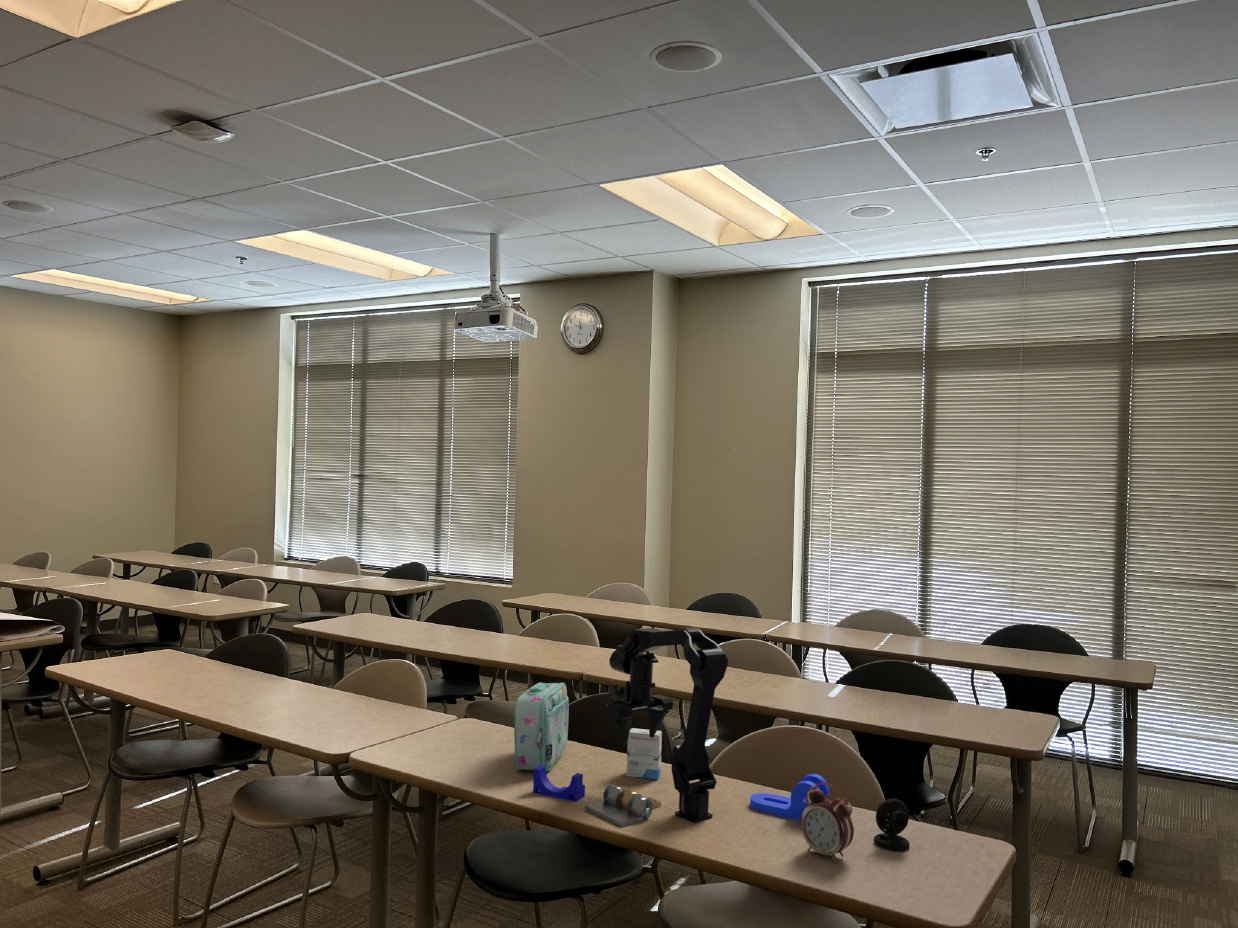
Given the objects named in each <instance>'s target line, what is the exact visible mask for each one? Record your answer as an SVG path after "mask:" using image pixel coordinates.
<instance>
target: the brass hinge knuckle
mask: <svg viewBox="0 0 1238 928" xmlns="http://www.w3.org/2000/svg"><path fill="white" fill-rule="evenodd" d="M623 789H624V788H623ZM635 795H639V796H641V797H643V796H642V795H641V794H640V793H637V792H636V791H633V790H630V789H628V788H625V789H624V790H623V791H621V793H620V794H619V796H618V805H619V806H621V807H623V808H625V809H627V810H628V803H629V801H630V799H631V798H632V797H633V796H635ZM646 799H648V800H650V801H651V802H652V805H653V809H656V808H655V807H657V808H660V807H662V801H660V800H657V799H656V798H652V797H651V796H649V797H646ZM659 806H660V807H659Z"/></svg>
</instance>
